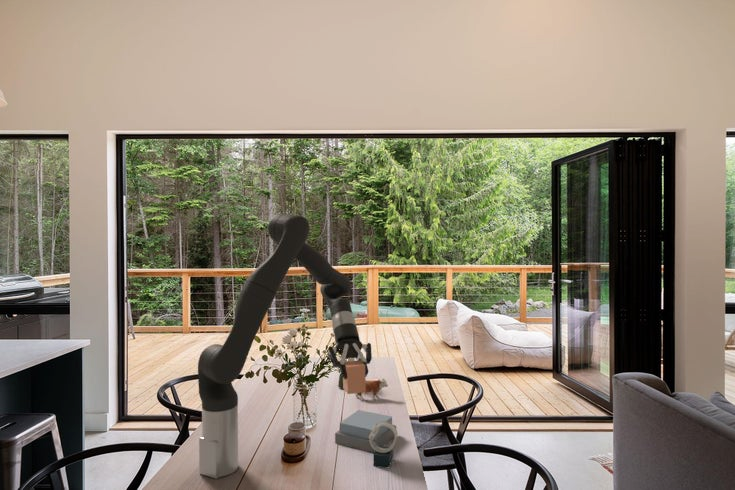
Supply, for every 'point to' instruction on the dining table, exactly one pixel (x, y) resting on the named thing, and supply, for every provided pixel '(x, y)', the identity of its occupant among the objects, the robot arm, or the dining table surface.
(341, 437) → the two-tier stepped box
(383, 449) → the grey ring on block
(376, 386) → the bull figurine
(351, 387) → the terracotta brick
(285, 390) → the dining table surface
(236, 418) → the robot arm
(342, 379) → the character mug
